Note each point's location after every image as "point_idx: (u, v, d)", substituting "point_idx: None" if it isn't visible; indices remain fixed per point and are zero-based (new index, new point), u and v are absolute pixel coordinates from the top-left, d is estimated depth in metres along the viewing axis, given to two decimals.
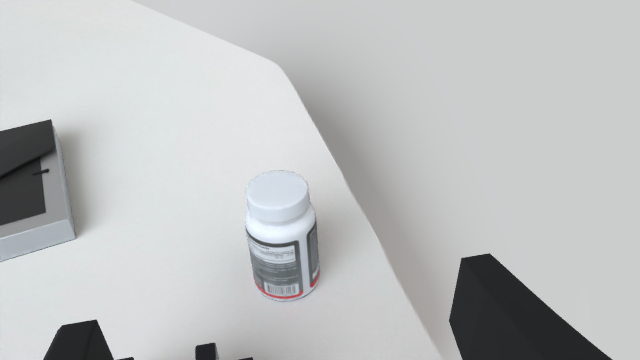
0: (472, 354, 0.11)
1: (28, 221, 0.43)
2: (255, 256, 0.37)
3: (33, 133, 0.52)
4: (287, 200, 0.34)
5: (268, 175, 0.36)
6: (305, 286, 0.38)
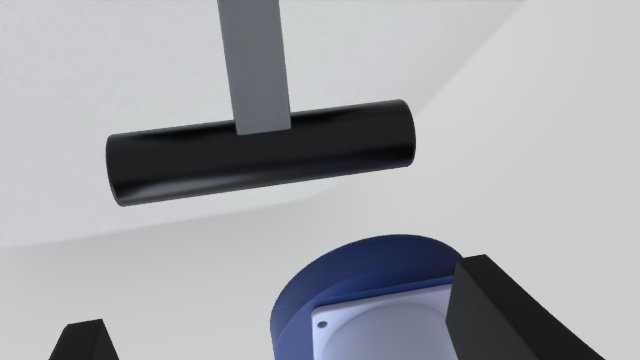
0: (469, 355, 0.11)
1: None
2: None
3: None
4: None
5: None
6: None
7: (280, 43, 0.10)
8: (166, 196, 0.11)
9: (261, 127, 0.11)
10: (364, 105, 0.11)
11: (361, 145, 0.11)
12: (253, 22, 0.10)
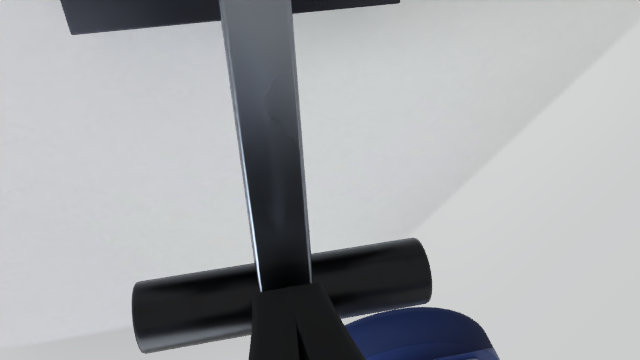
0: None
1: None
2: None
3: None
4: None
5: None
6: None
7: (305, 215, 0.10)
8: (190, 345, 0.11)
9: (283, 284, 0.11)
10: (383, 252, 0.12)
11: (379, 297, 0.11)
12: (279, 198, 0.10)
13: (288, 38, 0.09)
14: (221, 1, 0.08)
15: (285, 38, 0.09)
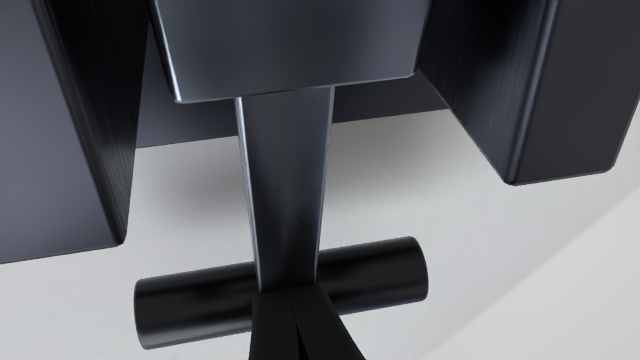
0: None
1: None
2: None
3: None
4: None
5: None
6: None
7: (315, 267, 0.10)
8: None
9: None
10: (385, 265, 0.12)
11: (376, 305, 0.12)
12: (290, 261, 0.09)
13: (322, 162, 0.07)
14: (243, 143, 0.06)
15: (317, 161, 0.07)
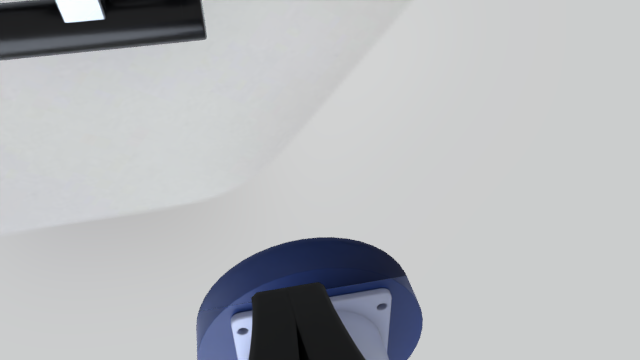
0: None
1: None
2: None
3: None
4: None
5: None
6: None
7: None
8: (18, 58, 0.15)
9: (82, 18, 0.14)
10: None
11: (162, 32, 0.15)
12: None
13: None
14: None
15: None
